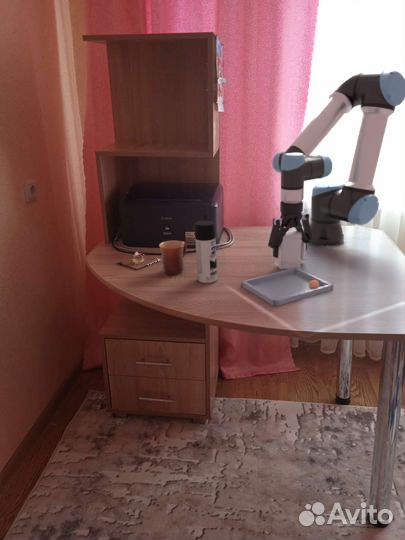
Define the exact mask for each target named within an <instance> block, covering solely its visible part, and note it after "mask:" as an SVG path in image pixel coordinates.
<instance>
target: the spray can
mask: <svg viewBox="0 0 405 540" xmlns="http://www.w3.org/2000/svg"><path fill="white" fill-rule="evenodd" d="M194 238H195V239H194V240H195V254H196V255H195V256H196V259H195V260H196V275H197V281H198V282H199V283H201V284H212V283H216V281H217V280H218V269H217V268H218V264H217V263H218V262H217V260H218V259H217V243H216V242H217V240H216V238H217V236H216V224H215V222H214V221H212V220H199V221H196V222H195V223H194Z"/></svg>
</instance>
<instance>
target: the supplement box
mask: <svg viewBox="0 0 405 540" xmlns="http://www.w3.org/2000/svg"><path fill="white" fill-rule="evenodd" d="M301 240H302V234H301V232H298V231H296V230H288V231H287V232H286V234H285V236H284V237H283V241H282V243H281V245H280V247H279V248H280V249H281V267H278V269H279V270H287V269H291V268H295V267H297V268H299V269H301V261H302V260H301V242H302V241H301Z"/></svg>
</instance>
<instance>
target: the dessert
mask: <svg viewBox="0 0 405 540" xmlns="http://www.w3.org/2000/svg"><path fill="white" fill-rule="evenodd" d="M141 254H142V253H140V252H139V251H136V252H135V253H134V255H133V256H134V259H132V263H133V262H135V263H138V262H143V261H145V260H144V259H145V258H143V256H142V255H141ZM157 259H158V262H159V261H161V259H160V258H157ZM154 262H155V263H157V261H153V262H151V263H148V264H147V265H148V266H150V265H153V264H155V263H154ZM152 263H153V264H152ZM149 264H150V265H149Z"/></svg>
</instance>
